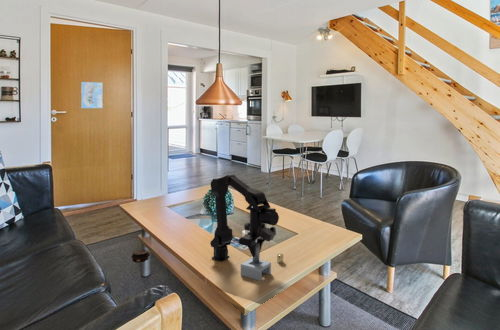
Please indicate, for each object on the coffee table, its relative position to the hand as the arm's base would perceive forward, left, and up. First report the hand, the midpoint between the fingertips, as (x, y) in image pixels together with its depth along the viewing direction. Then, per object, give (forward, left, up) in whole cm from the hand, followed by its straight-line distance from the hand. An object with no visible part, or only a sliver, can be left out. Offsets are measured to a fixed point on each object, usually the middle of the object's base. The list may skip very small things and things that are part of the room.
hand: (255, 255), depth 133 cm
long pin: (0, 0, -3) cm, 3 cm away
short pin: (+4, +16, -8) cm, 19 cm away
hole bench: (0, 0, -8) cm, 8 cm away
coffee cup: (-57, -17, -18) cm, 62 cm away
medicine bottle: (-25, +33, -9) cm, 42 cm away
